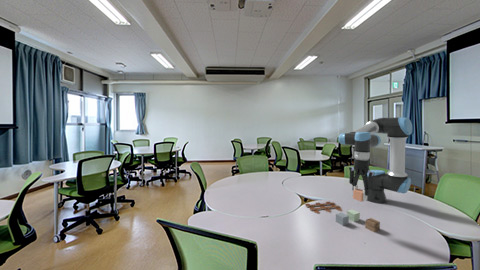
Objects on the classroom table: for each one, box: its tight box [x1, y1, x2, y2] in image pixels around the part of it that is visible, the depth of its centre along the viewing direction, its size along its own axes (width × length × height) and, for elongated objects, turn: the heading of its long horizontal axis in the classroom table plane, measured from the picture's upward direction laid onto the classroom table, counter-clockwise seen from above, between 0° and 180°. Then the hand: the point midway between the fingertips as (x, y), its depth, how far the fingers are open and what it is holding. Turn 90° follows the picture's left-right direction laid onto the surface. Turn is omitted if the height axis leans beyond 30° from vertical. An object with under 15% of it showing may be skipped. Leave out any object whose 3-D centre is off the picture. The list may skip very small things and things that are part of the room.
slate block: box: [335, 212, 350, 227], centre depth 120 cm, size 5×5×5 cm
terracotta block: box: [352, 188, 364, 202], centre depth 113 cm, size 5×5×5 cm
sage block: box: [346, 209, 361, 223], centre depth 124 cm, size 5×5×5 cm
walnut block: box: [364, 217, 381, 233], centre depth 113 cm, size 5×5×5 cm
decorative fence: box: [304, 201, 343, 215], centre depth 141 cm, size 23×2×15 cm
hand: (360, 198), depth 113 cm, fingers closed on terracotta block, 5 cm apart
